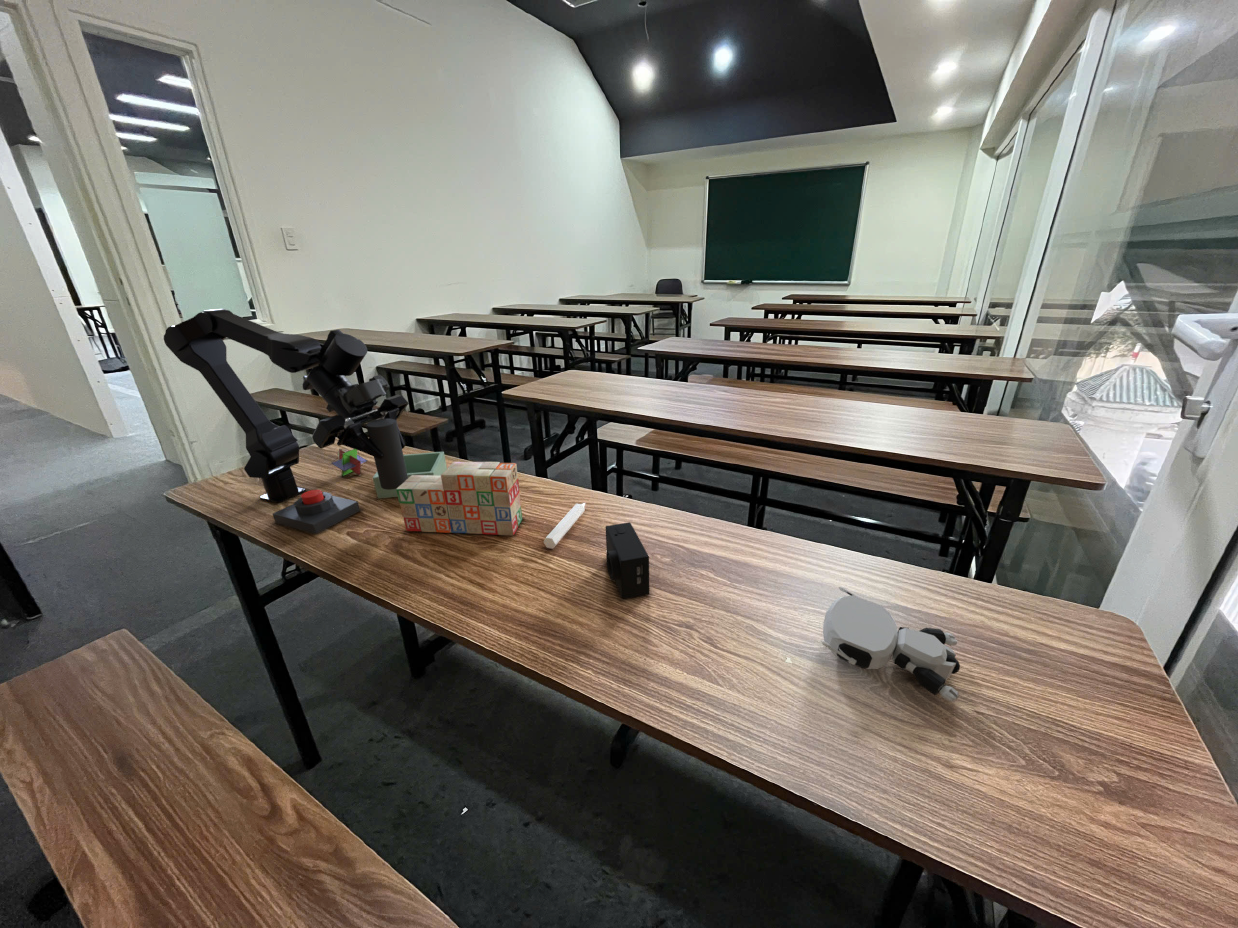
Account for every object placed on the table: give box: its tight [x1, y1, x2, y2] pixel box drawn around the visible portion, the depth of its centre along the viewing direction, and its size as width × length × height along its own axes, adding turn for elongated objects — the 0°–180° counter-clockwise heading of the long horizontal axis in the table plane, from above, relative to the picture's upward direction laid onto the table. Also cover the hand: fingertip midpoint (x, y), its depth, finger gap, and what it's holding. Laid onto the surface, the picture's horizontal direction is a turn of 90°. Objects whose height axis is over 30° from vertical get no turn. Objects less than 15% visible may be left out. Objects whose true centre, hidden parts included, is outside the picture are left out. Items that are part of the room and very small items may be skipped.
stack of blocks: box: [396, 461, 523, 536], centre depth 91 cm, size 21×6×12 cm, turn 84°
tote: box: [372, 451, 448, 499], centre depth 110 cm, size 13×13×5 cm
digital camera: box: [604, 522, 650, 600], centre depth 75 cm, size 10×5×7 cm, turn 14°
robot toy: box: [821, 586, 961, 703], centre depth 60 cm, size 12×4×15 cm
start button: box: [300, 489, 324, 505], centre depth 96 cm, size 4×4×2 cm
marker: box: [543, 502, 586, 550], centre depth 91 cm, size 3×2×16 cm
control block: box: [272, 491, 361, 535], centre depth 97 cm, size 12×10×4 cm
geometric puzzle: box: [330, 448, 369, 477], centre depth 116 cm, size 7×7×8 cm
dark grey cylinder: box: [365, 419, 408, 490], centre depth 94 cm, size 5×5×13 cm
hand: (392, 452), depth 93 cm, fingers closed on dark grey cylinder, 5 cm apart
